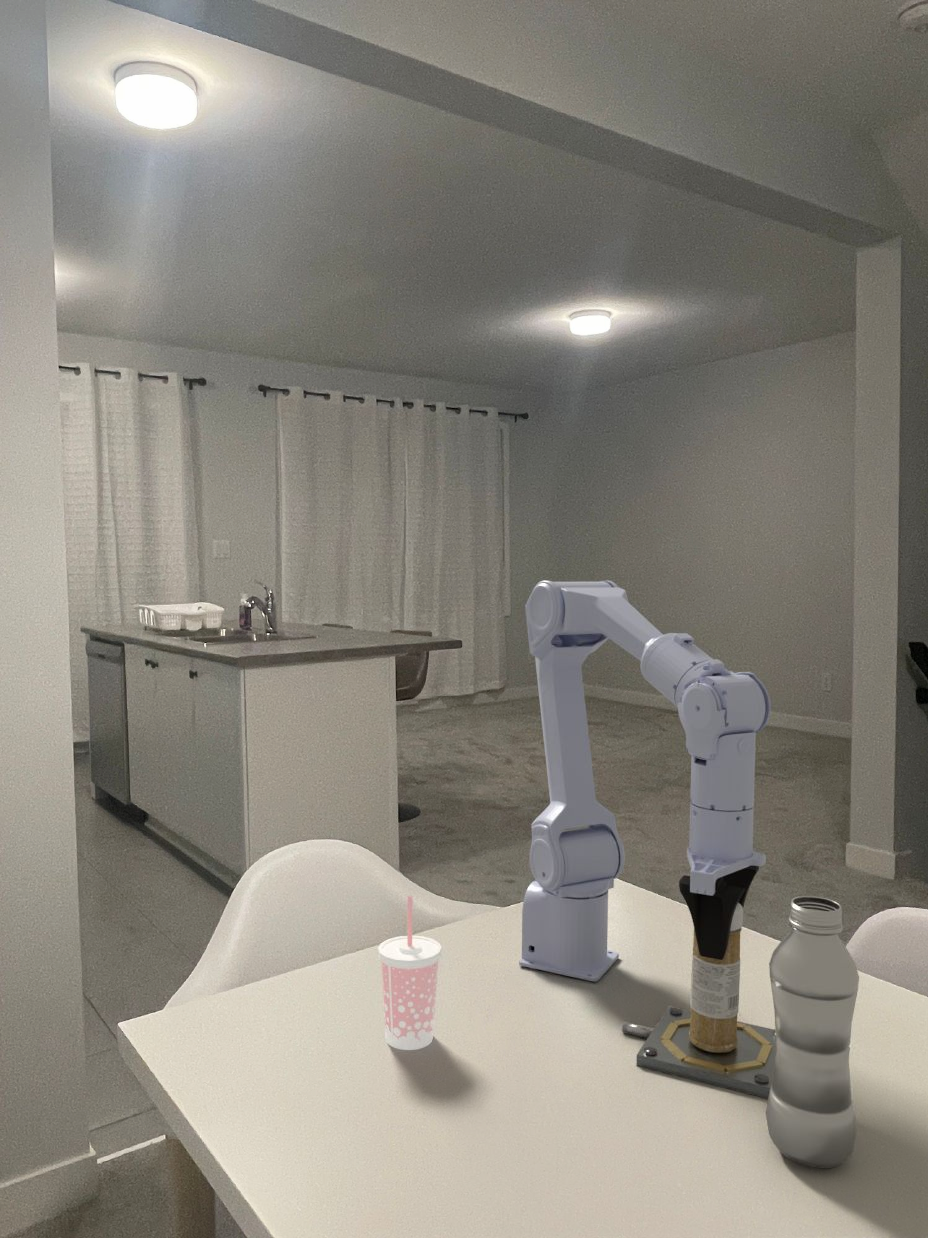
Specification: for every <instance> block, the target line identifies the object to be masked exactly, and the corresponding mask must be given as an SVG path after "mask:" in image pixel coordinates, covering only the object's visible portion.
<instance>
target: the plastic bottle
mask: <svg viewBox="0 0 928 1238" xmlns="http://www.w3.org/2000/svg"><path fill="white" fill-rule="evenodd" d="M842 916H843V907H842V905H841V904H840V903H839V902H837V901H835V900H834V899H830V898H826V897H821V896H815V895H799V896H795V897H793V898H792V899H791V902H790V914H789V916H788V925H789V927H790V928H791V931H789V933H788V934H787V935H786V936H785V937H784V938H783V939H782V940H781V941H780V942H779V944H778V945H776V947H775V949H774V950H773V952H772V954H771V957H770V960H769V963H768V965H769V967H768V969H769V978H770V986H771V994H772V1001H773V1009H774V1030H775V1031H776V1035H775V1039H776V1050H775V1060H774V1069H773V1078H772V1085H771V1088H770V1092H769V1096H768V1099H767V1103H766V1109H765V1118H766V1123H767V1124H766V1125H767V1132H768V1135H769V1137H770V1140H771V1141H772V1143H773V1145H774V1146H775V1147H776V1149H777V1150H778V1151H779V1152H780V1153H781V1154H782V1155H783V1156H785V1157H787V1159H790V1160H791V1161H794V1162H796V1163H798V1164H800V1165H804V1166H807V1167H810V1168H811V1167H813V1168H820V1169H827V1168H830V1169H831V1168H835V1167H838V1166H841V1165H842V1164H844V1162H846V1160H848V1159H849V1158H850V1156H851V1155H852V1154H853V1151H854V1148H855V1144H856V1139H857V1134H858V1133H857V1132H858V1129H857V1121H856V1113H855V1108H854V1104H853V1100H852V1087H851V1086H852V1085H851V1073H850V1049H851V1047H850V1045H851V1038H852V1037H851V1036H852V1023H853V1018H854V1012H855V1009H856V1008H855V1007H856V1002H857V998H858V997H857V996H858V990H859V983H860V976H859V972H858V968H857V964H856V963H855V960H854V958H853V957H852V955H851V954H850V952H849V950H848V948H847V947H846V946H845V944H844V943H843V941H842V940H841V939H840V937H839V934H841V933H843V930H844V928H843V927H844V926H843V925H844V924H843V922H842V919H843V917H842Z"/></svg>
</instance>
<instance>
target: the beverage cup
mask: <svg viewBox="0 0 928 1238" xmlns="http://www.w3.org/2000/svg"><path fill="white" fill-rule="evenodd" d="M406 918H407V919H406V920H407V923H406V924H407V927H406V929H407V935H401V936H399V935H398V936H395V937H392V938H388V939H386V940H384V941H383V942H381V943H380V944H379V946H378V947H377V952H378V959H379V961H380V963H381V964H380V968H381V983H382V984H381V985H382V999H383V1000H382V1001H383V1015H384V1016H383V1017H384V1034H385V1041H386V1044H388V1045H389V1046H390V1047H392V1048H395V1049H398V1050H405V1051H412V1050H413V1051H414V1050H420V1049H423V1048H425V1047H427V1046H428V1045H430V1044H431V1043H432V1041H433V1038H434V1033H435V1032H434V1031H435V1030H434V1029H435V1015H436V1004H437V1003H436V1001H437V999H436V998H437V988H438V986H437V984H438V970H439V961H440V959H441V957H442V953H441V952H442V949H443V948H442V945H441V944H440V942H439V941H437V940H435V939H434V938H431V937H427V936H422V935H413V896H412V895H407V916H406Z"/></svg>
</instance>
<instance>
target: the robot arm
mask: <svg viewBox="0 0 928 1238" xmlns="http://www.w3.org/2000/svg"><path fill="white" fill-rule="evenodd" d="M528 597H529V598H528V599H527V602H526V603H525V607H524V608H525V616H526V617H525V618H526V628H527V637H528V645H529V653H530V655H532V656H533V657H534V659H535V661H534V662H535V670H536V678H537V688H538V689H537V690H538V698H539V709H540V717H541V718H540V719H541V728H542V735H543V744H544V745H543V747H544V754H545V755H544V756H545V757H544V758H545V766H546V775H547V783H548V794H549V795H548V796H549V802H550V803H549V804H548V806H547V807H545V809H544V810H543V811H542V812H541V813H540V814H539V815H538V816H537V817H536V818H535V819H534V820H533V821H532V823H531V824H530V825H531V826H530V827H531V828H530V829H531V843H530V844H531V845H530V849H529V855H528V857H529V859H528V860H529V867H530V870H531V873H532V876H533V878H534V879H535V880H534V881H532V882H531V883H530V884H529V886H528V887H527V889H526V891H525V895H524V898H523V903H522V913H521V914H522V915H521V917H522V918H521V959H520V960H519V962H518V965H519V966H522V967H527V968H530V969H535V970H540V971H543V972H548V973H553V974H556V975H557V974H558V975H563V976H567V977H572V978H576V979H581V980H585V981H589V982H598V981H599V980H600V979H601V978H602V977H603V975H605V973H606V972H607V971H608V970H609V969H610V968H611V966H612V965H614V963H615V962H616V961H617V960H618V958H619V955H620V954H619V952H616V951H613V950H612V951H611V950H608V928H609V926H608V925H609V921H608V920H609V919H608V918H609V917H608V915H609V890H610V889H614V888H615V882H614V881H615V879H617V878H619V877H620V876H621V874H622V872H623V871H624V866H625V859H626V854H625V852H626V851H625V847H624V843H623V841H622V839H621V837H620V834H619V832H618V828H617V822H616V821H617V820H616V816H615V814H614V813H613V812H611V811H610V810H608V808H606V807H605V806H603V805H602V804H601V803H600V802H598V801H597V798H596V790H595V789H596V787H595V780H594V771H593V770H594V769H593V761H592V751H591V743H590V734H589V726H588V718H587V717H588V716H587V710H586V709H587V707H586V697H585V689H584V682H583V681H584V680H583V672H582V671H583V670H582V665H583V663H584V662H585V660H586V659H587V658H588V656H589V655H590V654H592V653H594V652H596V651H597V650H598V649H599V648H600V647H601V646H602V645H603V644H604V643H606V642H607V641H608V640H611V641H612V642H613V643H614V644H616V645H617V646H619V647H620V648H622V649H623V650H625V651H626V652H627V653H629V654H630V655H631V656H633V657H635V658H636V659H637V660H638V661H640V666H639V667H640V674H641V675H642V677H643V679H644V680H645V681H647V682H648V684H650V685H651V686H652V687H653V688H654V689H656V690H657V691H658V692H659V693H660V694H662V695H663V696H664V697H665V698H667V700H668V701H670V703H672V704H673V705H674V706H675V707H676V708H677V710H678V712H677V713H678V718H679V721H680V723H681V725H682V728H683V730H684V732H685V749H687V752H688V755H690V791H689V792H690V793H689V794H690V795H689V796H690V797H689V799H690V801H689V833H688V834H689V840H688V841H689V843H688V846H686V857H687V861H688V863H689V866H690V875H686V874H685V875H683V876H682V877H681V878H680V879H679V881H678V887H679V888H678V889H679V892H680V894H681V895H682V897H683V899H684V901H685V903H686V905H687V908H688V910H689V913H690V916H691V920H692V923H693V924H692V925H693V930H694V929H695V935H696V940H697V945H698V949H699V953H700V956H703V957H708V958H713V959H718V960H723V958H724V956H725V953H726V950H727V946H728V941H729V935H730V928H731V923H732V919H733V915H734V912H735V909H736V906H737V904H738V903H739V904H741V906H742V907H743V908H744V906H745V903H746V898H747V896H748V893H749V890H750V887H751V885H752V883H753V881H754V879H755V876H756V875H757V873H758V872H759V870H760V867H762V866H765V864H766V862H767V854H765V853H762V852H756V851H754V850H753V849H754V848H753V847H754V845H753V844H754V842H753V841H754V813H755V811H754V808H755V806H754V805H755V774H756V772H755V771H756V770H755V769H756V741H757V740H756V739H757V737H756V735H757V733H760V732H761V731H762V730H764V728H765V727H766V726H767V724H768V722H769V719H770V717H771V709H772V707H771V698H770V695H769V692H768V690H767V687H766V686H765V685H764V683H763V682H762V680H760V679H759V678H758V677H757V676H756V675H755V673H753V672H750V671H739V672H734V671H732V670H729V669H727V668H726V667H725V664H724V662H722V661H721V660H720V659H714V658H712V657H711V656H710V655H708V654H707V653H706V652H705V651H703V650H702V649H701V648H699V647H698V646H697V645H695V644H694V640H695V638H694V637H693V636H691V635H690V634H688V633H686V632H683V633H680V632H679V633H676V632H670V633H665V634H663V633H662V632H661V631H660V630H659V629H658V628H657V627H656V626H654V625H653V624H652V623H651V622H650V621H649V620H648V619H647V618H646V617H645V616H644V615H643V614H641V612H639V610H637V609H636V608H635V606H633V605H632V604H631V603H630V602H629V598H628V595H627V591H626V590H625V589H624V588H621V587H619V586H618V584H616V583H615V582H614V581H612V580H608V579H607V580H606V579H605V580H604V579H603V580H600V581H552V580H541V581H539V582H537V584H535V586H534V588H533V589H532V591H531V593H530V595H529V596H528ZM582 827H586V828H582ZM573 828H580V829H573ZM568 829H573V830H568ZM565 830H566V831H565Z"/></svg>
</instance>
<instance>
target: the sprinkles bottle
mask: <svg viewBox="0 0 928 1238" xmlns="http://www.w3.org/2000/svg"><path fill="white" fill-rule="evenodd" d="M743 925H744V907H742V906H741V904H739V903H738V904H737V906H736V909H735V912H734V915H733V919H732V923H731V928H730V935H729V941H728V946H727V950H726V953H725V956H724V958H723V960H718V959H713V958H708V957H703V956H700V953H699V949H698V945H697V940H696V935H695V929H694V928H693V946H692V964H691V965H692V966H691V967H692V968H691V977H690V1001H689V1003H690V1004H689V1005H690V1011H691V1021H690V1031H689V1039H690V1041H691V1042H692V1043H693V1044H694V1045H695V1046H697V1047H698V1048H700V1049H703V1050H705V1051H709V1052H717V1053H724V1052H730V1051H732V1050H733V1049H735V1048H736V1046H737V1043H738V1040H737V1037H736V1036H737V1021H738V1013H739V1009H740V1007H739V1005H740V1004H739V1003H740V1002H739V1001H740V983H741V982H740V981H741V932H742V930H743V929H742V928H743Z"/></svg>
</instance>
